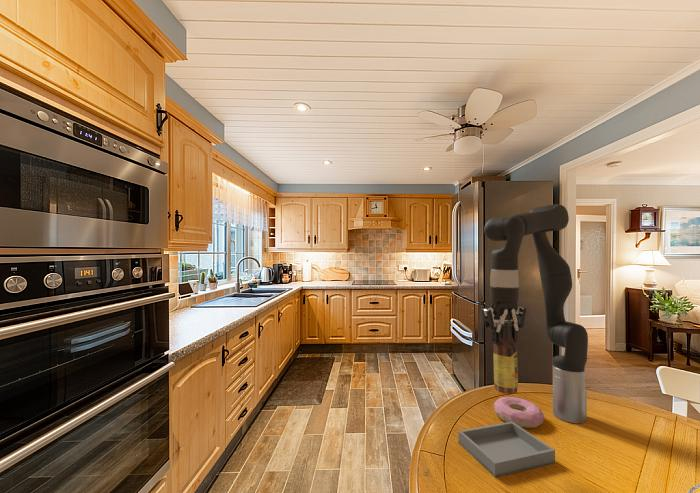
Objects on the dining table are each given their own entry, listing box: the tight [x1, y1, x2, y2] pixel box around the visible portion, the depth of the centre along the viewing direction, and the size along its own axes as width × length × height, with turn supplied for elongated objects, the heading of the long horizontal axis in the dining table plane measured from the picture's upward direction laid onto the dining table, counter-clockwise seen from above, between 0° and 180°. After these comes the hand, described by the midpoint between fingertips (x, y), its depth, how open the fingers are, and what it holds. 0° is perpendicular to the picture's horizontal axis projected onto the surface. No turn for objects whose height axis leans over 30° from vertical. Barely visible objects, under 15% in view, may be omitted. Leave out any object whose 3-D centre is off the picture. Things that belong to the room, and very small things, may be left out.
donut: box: [493, 396, 545, 429], centre depth 108 cm, size 16×15×5 cm
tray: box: [458, 422, 556, 478], centre depth 89 cm, size 20×15×4 cm
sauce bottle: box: [492, 319, 519, 395], centre depth 89 cm, size 6×6×20 cm
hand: (504, 343), depth 89 cm, fingers closed on sauce bottle, 5 cm apart
